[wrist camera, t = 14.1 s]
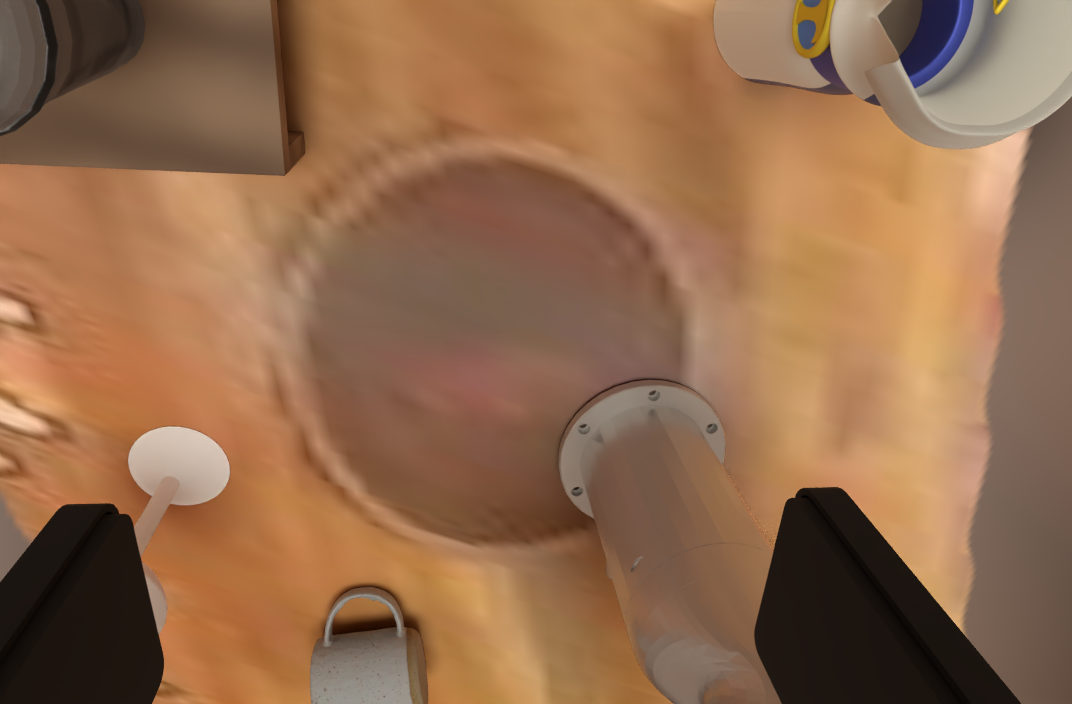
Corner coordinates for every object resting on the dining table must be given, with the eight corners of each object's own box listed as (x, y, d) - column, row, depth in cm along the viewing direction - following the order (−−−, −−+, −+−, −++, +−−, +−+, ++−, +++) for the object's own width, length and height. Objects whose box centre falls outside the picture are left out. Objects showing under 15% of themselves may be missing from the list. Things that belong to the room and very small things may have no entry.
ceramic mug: (432, 666, 61) (430, 748, 54) (337, 683, 61) (323, 768, 54) (410, 572, 57) (405, 649, 50) (306, 589, 56) (287, 669, 49)
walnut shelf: (305, 153, 42) (284, 175, 36) (6, 139, 40) (-62, 160, 34) (285, -133, 36) (257, -156, 30) (-69, -168, 33) (-167, -200, 28)
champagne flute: (194, 411, 48) (-5, 740, 27) (249, 484, 51) (109, 832, 30) (106, 448, 49) (-159, 800, 27) (165, 518, 52) (-31, 884, 30)
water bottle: (695, 93, 43) (970, 193, 21) (717, -72, 39) (1082, -169, 17) (825, 97, 44) (1221, 197, 22) (858, -63, 40) (1379, -144, 18)
